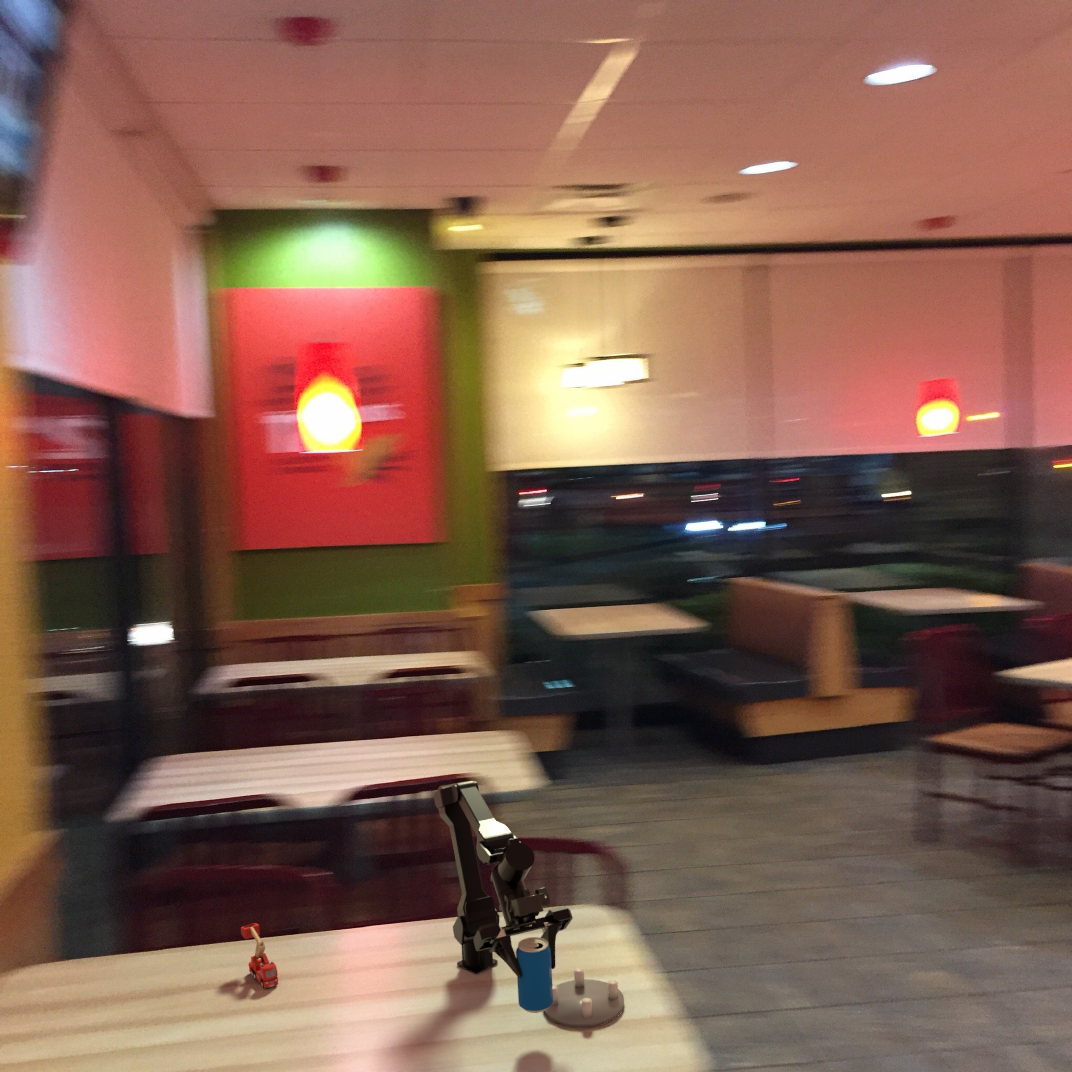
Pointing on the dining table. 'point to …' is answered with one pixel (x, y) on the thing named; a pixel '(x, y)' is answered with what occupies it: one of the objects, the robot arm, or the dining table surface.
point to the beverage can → (534, 975)
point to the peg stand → (585, 1002)
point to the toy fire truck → (261, 967)
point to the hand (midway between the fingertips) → (537, 972)
